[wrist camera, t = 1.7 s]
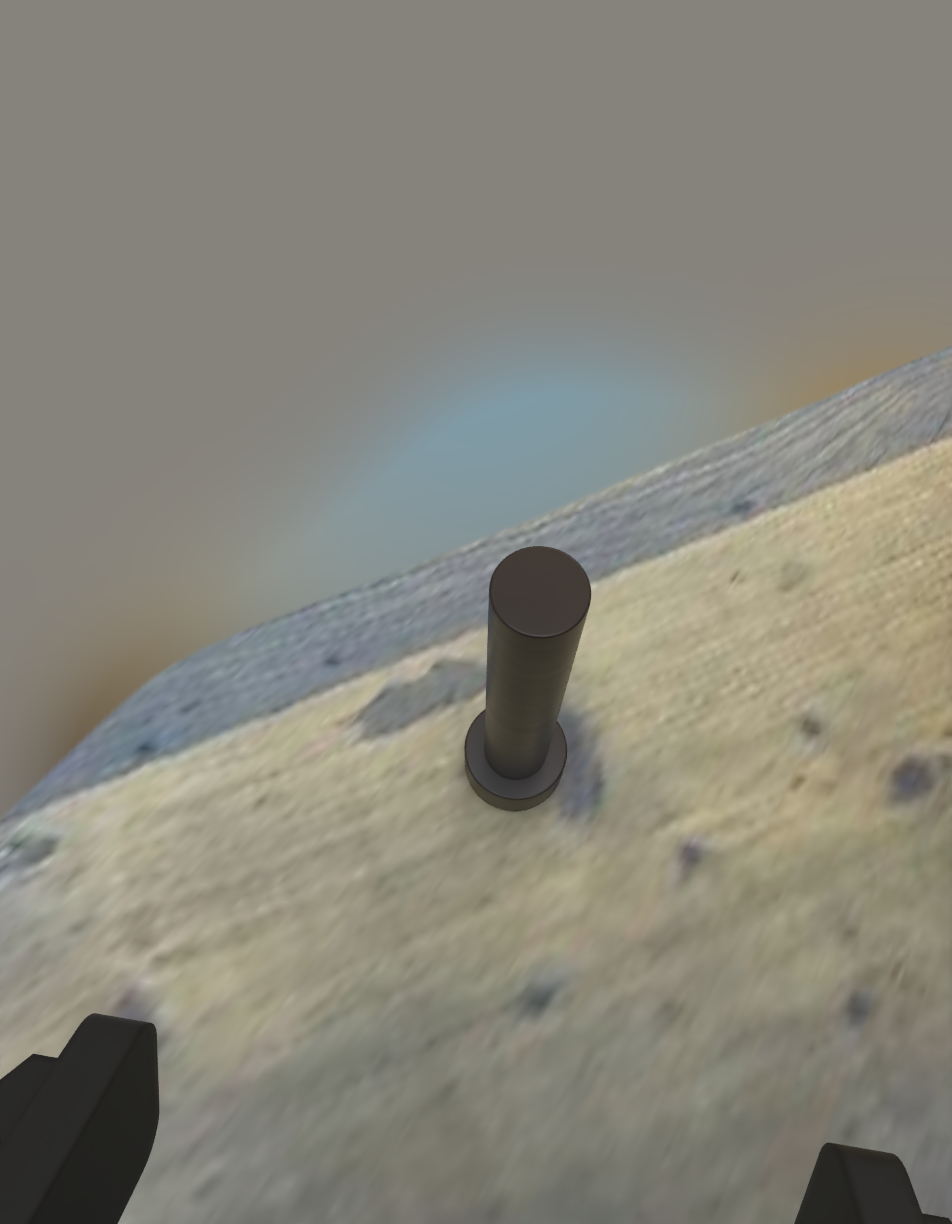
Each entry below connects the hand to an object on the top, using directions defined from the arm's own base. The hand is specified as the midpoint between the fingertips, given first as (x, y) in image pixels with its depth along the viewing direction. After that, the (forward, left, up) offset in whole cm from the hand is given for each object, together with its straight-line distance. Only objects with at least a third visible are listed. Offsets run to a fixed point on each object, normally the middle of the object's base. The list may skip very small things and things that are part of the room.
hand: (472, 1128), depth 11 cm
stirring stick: (0, -10, -20) cm, 22 cm away
